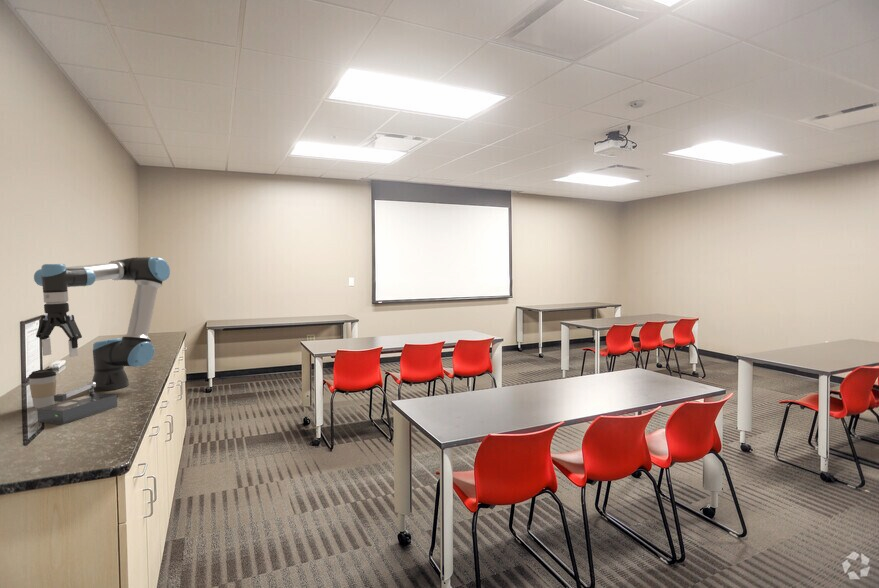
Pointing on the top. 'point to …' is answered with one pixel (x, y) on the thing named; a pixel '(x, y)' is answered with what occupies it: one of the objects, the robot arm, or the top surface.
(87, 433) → the top surface
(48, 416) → the lever switch
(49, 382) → the coffee cup
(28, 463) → the top surface
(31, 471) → the top surface
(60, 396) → the grey long bar
